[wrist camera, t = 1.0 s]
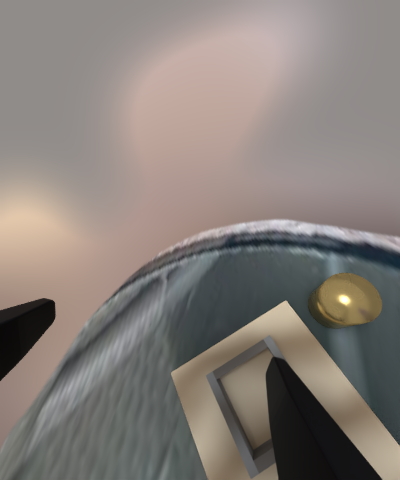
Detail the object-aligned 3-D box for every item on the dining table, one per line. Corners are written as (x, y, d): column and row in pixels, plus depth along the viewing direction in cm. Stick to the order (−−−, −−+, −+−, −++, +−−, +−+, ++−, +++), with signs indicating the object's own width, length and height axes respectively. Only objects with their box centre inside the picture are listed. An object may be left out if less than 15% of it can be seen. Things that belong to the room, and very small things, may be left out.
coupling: (362, 315, 22) (395, 305, 17) (329, 336, 22) (352, 333, 17) (329, 281, 24) (350, 264, 19) (299, 300, 24) (311, 288, 19)
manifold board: (473, 548, 14) (532, 602, 11) (288, 682, 13) (298, 779, 10) (284, 302, 24) (288, 296, 21) (175, 371, 24) (163, 375, 21)
